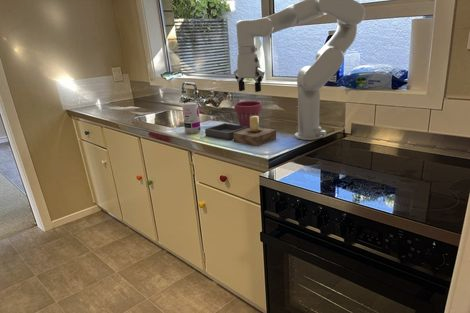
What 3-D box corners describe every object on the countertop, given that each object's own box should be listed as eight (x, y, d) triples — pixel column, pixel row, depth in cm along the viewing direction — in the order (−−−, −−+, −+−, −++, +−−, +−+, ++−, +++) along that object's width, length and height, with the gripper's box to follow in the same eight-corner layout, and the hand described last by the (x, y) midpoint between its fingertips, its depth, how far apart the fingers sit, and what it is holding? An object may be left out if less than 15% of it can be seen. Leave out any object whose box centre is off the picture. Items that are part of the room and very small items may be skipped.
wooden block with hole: (276, 138, 161) (276, 129, 159) (257, 145, 151) (256, 137, 150) (253, 134, 170) (252, 126, 169) (233, 141, 160) (233, 132, 159)
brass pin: (261, 139, 161) (260, 116, 157) (255, 141, 158) (254, 117, 154) (254, 138, 163) (253, 115, 160) (248, 140, 161) (247, 116, 157)
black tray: (248, 133, 172) (248, 126, 171) (228, 140, 162) (228, 133, 161) (225, 129, 182) (224, 123, 181) (205, 135, 173) (205, 128, 172)
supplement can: (201, 129, 186) (198, 101, 181) (200, 133, 178) (197, 104, 173) (186, 130, 186) (183, 102, 181) (184, 134, 178) (181, 105, 173)
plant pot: (263, 129, 177) (262, 104, 173) (236, 131, 177) (234, 106, 173) (261, 123, 191) (260, 100, 187) (235, 125, 191) (234, 101, 187)
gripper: (268, 49, 145) (270, 90, 150) (238, 51, 157) (241, 89, 162) (256, 50, 140) (259, 93, 145) (226, 52, 152) (230, 91, 157)
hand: (249, 91), depth 154 cm, fingers open, 9 cm apart
